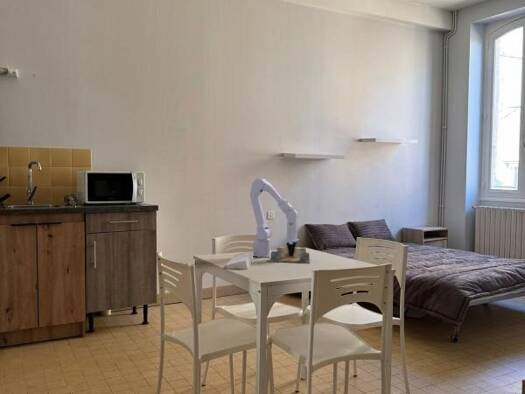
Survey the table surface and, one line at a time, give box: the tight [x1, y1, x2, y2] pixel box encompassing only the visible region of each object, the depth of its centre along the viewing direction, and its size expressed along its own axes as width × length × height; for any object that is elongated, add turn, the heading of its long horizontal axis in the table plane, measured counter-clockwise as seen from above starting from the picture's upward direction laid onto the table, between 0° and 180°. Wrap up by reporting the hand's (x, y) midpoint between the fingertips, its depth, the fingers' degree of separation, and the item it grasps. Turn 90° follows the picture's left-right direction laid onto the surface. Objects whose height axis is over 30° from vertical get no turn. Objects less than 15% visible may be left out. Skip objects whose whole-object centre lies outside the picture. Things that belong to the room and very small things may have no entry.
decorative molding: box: [225, 250, 255, 270], centre depth 263 cm, size 34×5×10 cm
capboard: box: [269, 250, 311, 264], centre depth 274 cm, size 21×11×4 cm, turn 83°
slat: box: [276, 246, 307, 258], centre depth 285 cm, size 16×2×6 cm, turn 83°
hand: (291, 255), depth 285 cm, fingers closed on slat, 2 cm apart
